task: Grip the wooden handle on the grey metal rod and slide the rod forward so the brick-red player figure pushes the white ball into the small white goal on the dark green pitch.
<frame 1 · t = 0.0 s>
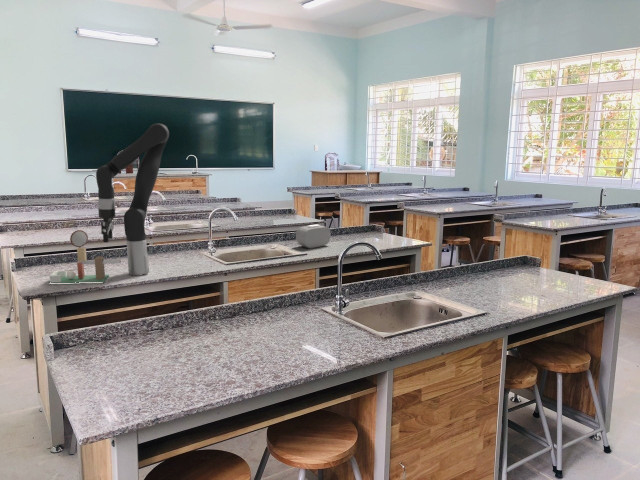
hand: (108, 240, 250), 17 cm above the counter, tool pointing down, fingers open, 8 cm apart
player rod: (99, 262, 242), point 9 cm above the counter, slide at 0.0 cm
pitch: (79, 280, 242), on the counter
ball: (71, 274, 241), point 3 cm above the counter, touching pitch
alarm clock: (313, 246, 321), on the counter
magnifying glass: (81, 268, 263), on the counter
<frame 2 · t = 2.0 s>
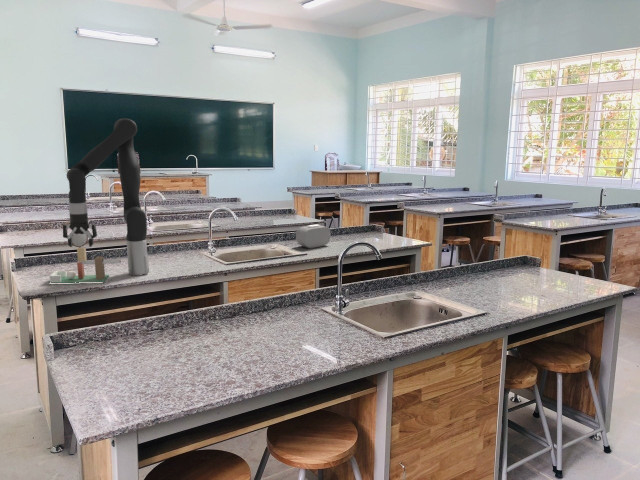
hand: (80, 246, 239), 17 cm above the counter, tool pointing down, fingers open, 8 cm apart
nothing on the counter moved.
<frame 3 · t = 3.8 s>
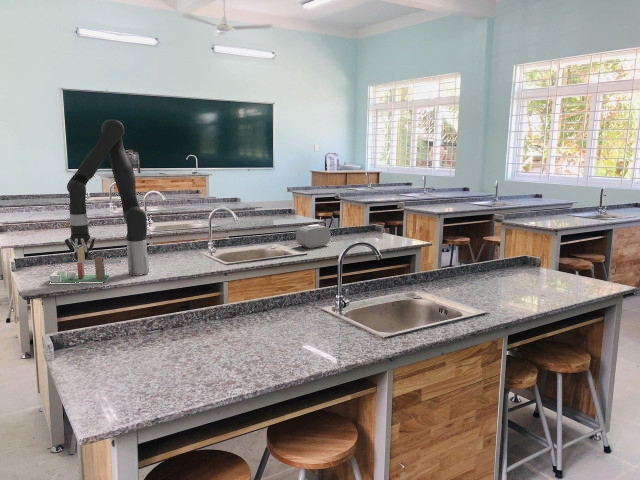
hand: (82, 259, 241), 10 cm above the counter, tool pointing down, fingers closed on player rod, 3 cm apart
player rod: (99, 262, 242), point 9 cm above the counter, slide at 0.0 cm, touching gripper
everything else where it was.
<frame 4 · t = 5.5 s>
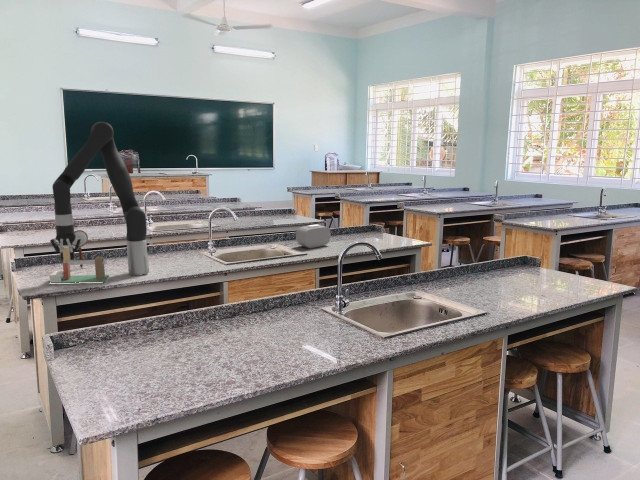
hand: (67, 259, 240), 10 cm above the counter, tool pointing down, fingers closed on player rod, 3 cm apart
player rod: (85, 262, 241), point 9 cm above the counter, slide at 6.3 cm, touching gripper
ball: (60, 275, 240), point 3 cm above the counter, tilted 137°, touching pitch
everything else where it was.
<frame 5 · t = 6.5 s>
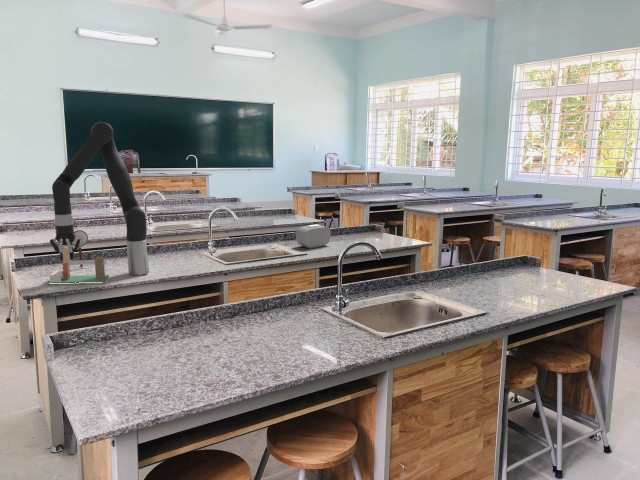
hand: (67, 259, 239), 10 cm above the counter, tool pointing down, fingers closed on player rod, 3 cm apart
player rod: (84, 262, 241), point 9 cm above the counter, slide at 6.5 cm, touching gripper
ball: (59, 275, 240), point 3 cm above the counter, tilted 143°, touching pitch
everything else where it was.
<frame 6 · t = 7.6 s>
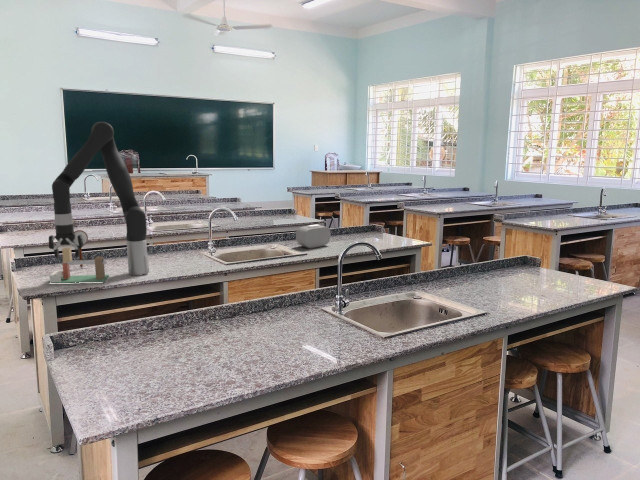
hand: (67, 257, 239), 12 cm above the counter, tool pointing down, fingers open, 8 cm apart
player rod: (84, 262, 241), point 9 cm above the counter, slide at 6.5 cm
everything else where it was.
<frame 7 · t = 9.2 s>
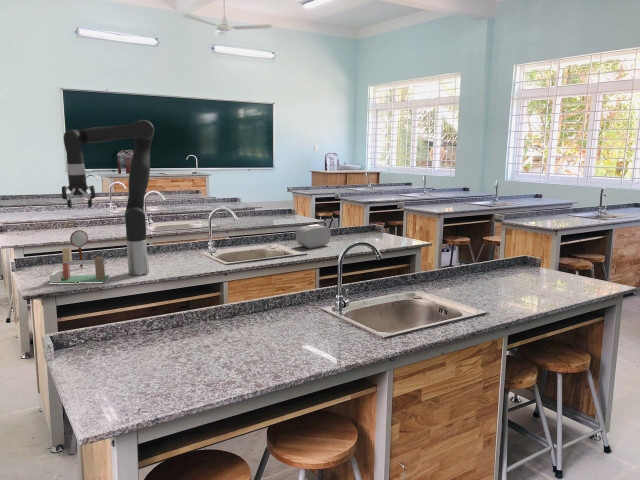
hand: (80, 207, 243), 34 cm above the counter, tool pointing down, fingers open, 8 cm apart
nothing on the counter moved.
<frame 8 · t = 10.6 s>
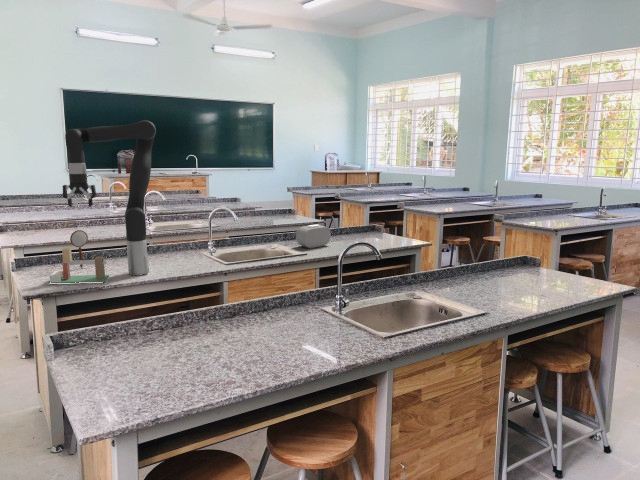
hand: (80, 206, 243), 34 cm above the counter, tool pointing down, fingers open, 8 cm apart
nothing on the counter moved.
at the end: ball 0.5 cm from the target spot, point 3.0 cm above the counter; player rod slide at 6.5 cm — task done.
